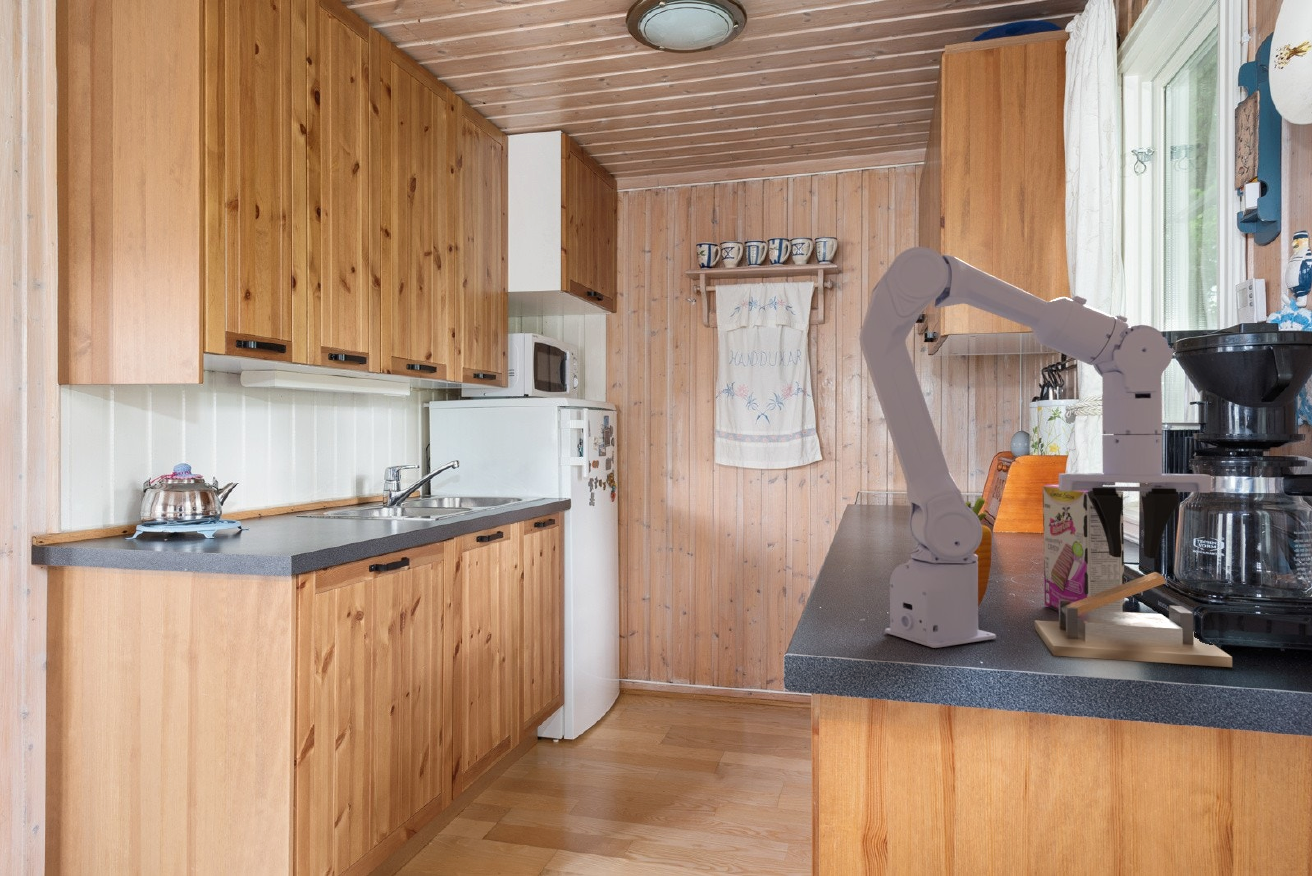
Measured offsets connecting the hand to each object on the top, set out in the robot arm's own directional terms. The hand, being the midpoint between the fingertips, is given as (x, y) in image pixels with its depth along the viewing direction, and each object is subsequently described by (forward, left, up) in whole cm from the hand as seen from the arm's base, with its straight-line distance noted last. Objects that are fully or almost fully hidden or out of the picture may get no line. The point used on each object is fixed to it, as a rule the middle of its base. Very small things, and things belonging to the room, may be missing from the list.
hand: (1132, 556), depth 89 cm
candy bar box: (+6, +11, -10) cm, 16 cm away
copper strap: (-4, 0, -4) cm, 6 cm away
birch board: (-3, -1, -9) cm, 10 cm away
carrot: (-4, +19, -10) cm, 22 cm away
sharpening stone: (-3, -1, -9) cm, 10 cm away
